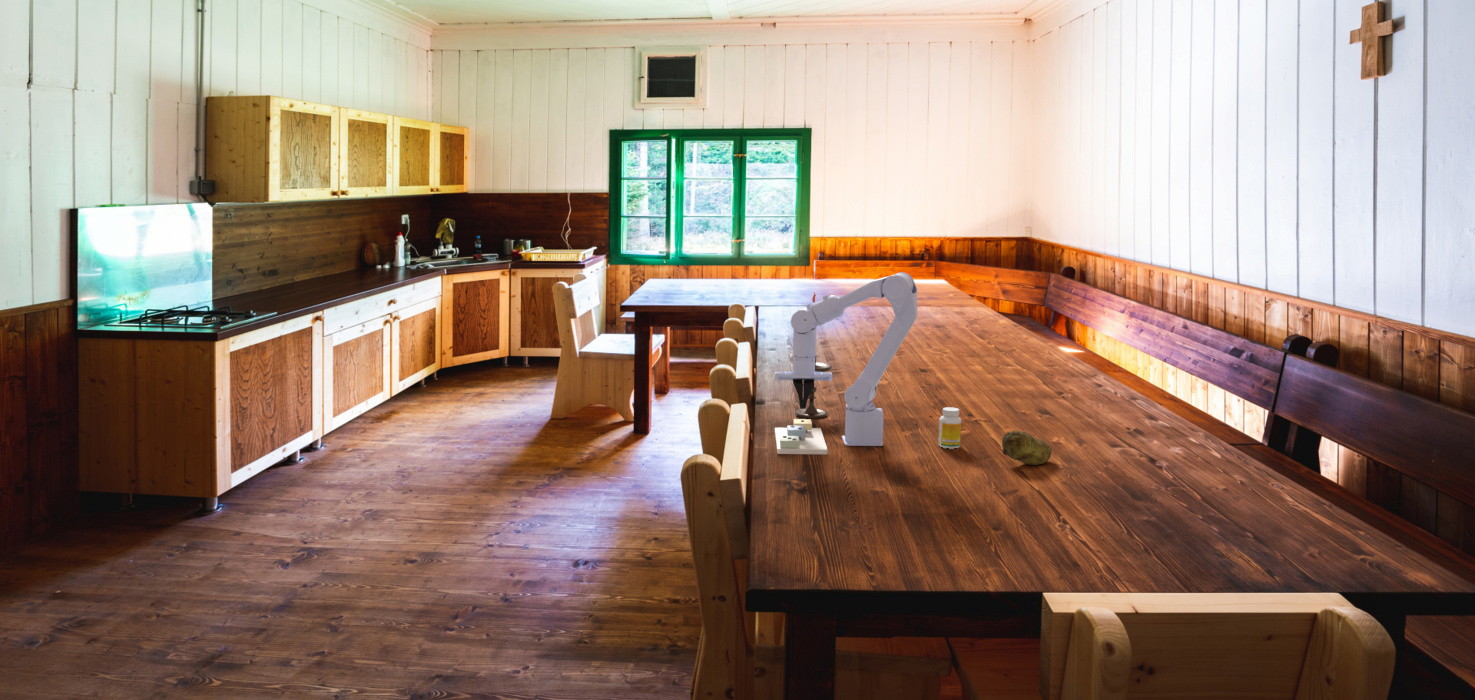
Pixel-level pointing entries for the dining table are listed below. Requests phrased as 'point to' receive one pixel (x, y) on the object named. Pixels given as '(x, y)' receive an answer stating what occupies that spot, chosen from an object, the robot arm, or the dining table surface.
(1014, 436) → the potato
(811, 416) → the candlestick
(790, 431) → the tile two
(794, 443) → the tile three
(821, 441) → the panel
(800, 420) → the tile one
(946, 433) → the supplement bottle
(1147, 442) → the dining table surface
